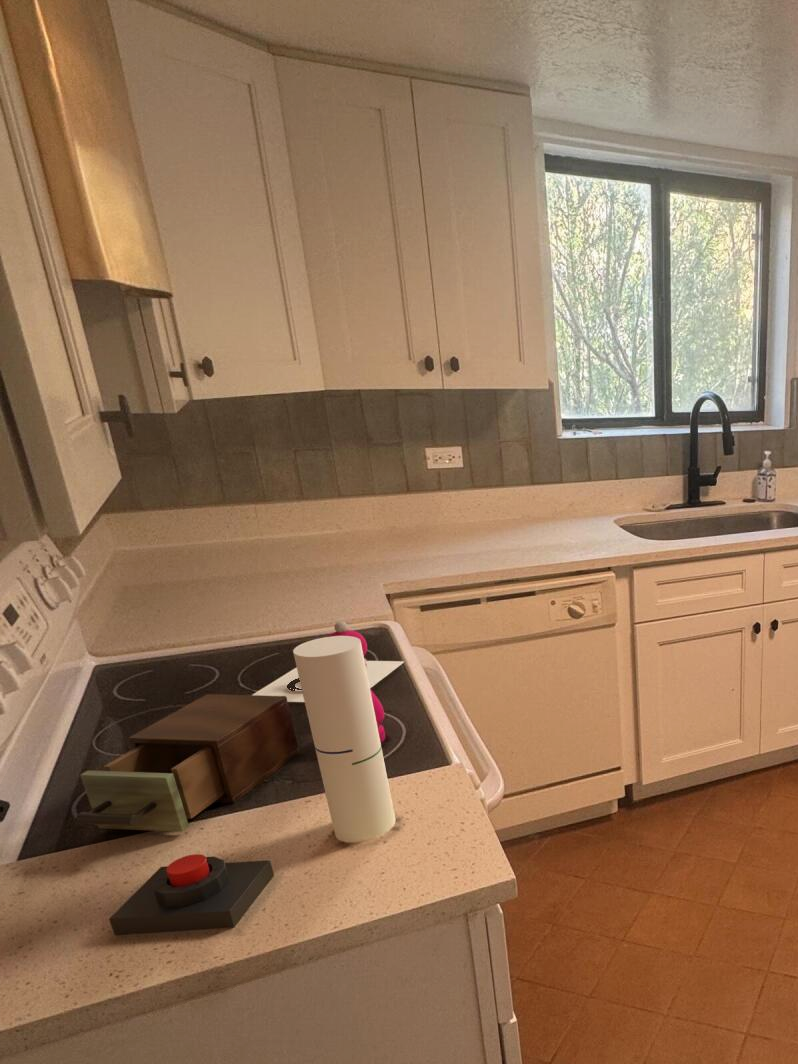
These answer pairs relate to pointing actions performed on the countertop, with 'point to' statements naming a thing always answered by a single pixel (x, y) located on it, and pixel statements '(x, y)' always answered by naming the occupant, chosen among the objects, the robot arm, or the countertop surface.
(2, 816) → the robot arm
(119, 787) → the drawer
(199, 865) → the button
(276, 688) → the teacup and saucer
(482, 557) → the countertop surface
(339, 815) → the cylindrical container
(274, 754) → the cabinet
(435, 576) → the countertop surface
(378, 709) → the pepper mill
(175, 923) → the control block
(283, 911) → the countertop surface
